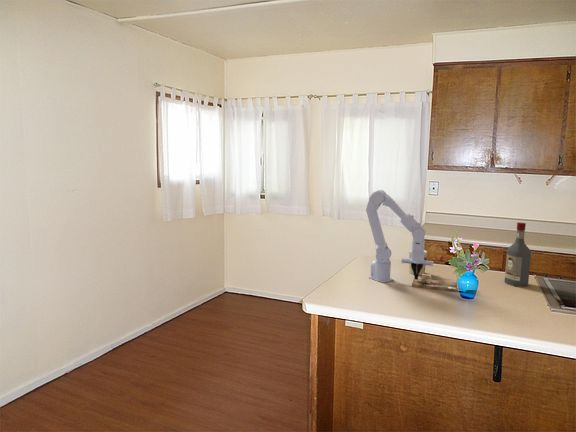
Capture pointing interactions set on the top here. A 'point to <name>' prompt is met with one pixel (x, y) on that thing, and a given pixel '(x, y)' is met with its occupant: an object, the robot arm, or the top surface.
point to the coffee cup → (417, 264)
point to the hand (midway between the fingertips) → (416, 278)
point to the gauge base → (436, 285)
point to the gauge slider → (426, 278)
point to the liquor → (518, 260)
